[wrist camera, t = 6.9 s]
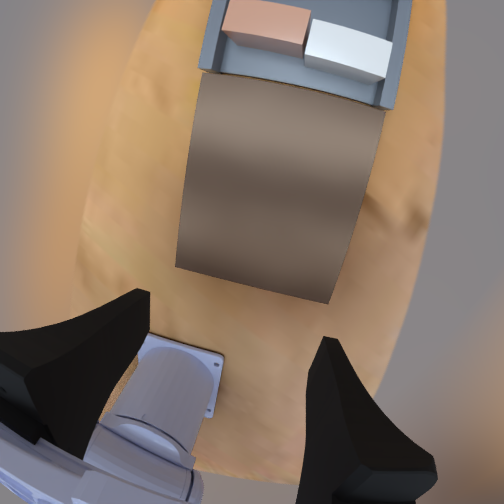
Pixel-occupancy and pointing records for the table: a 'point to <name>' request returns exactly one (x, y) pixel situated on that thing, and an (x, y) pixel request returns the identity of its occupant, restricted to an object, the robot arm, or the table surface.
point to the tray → (291, 68)
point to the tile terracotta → (268, 26)
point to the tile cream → (347, 52)
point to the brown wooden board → (274, 184)
